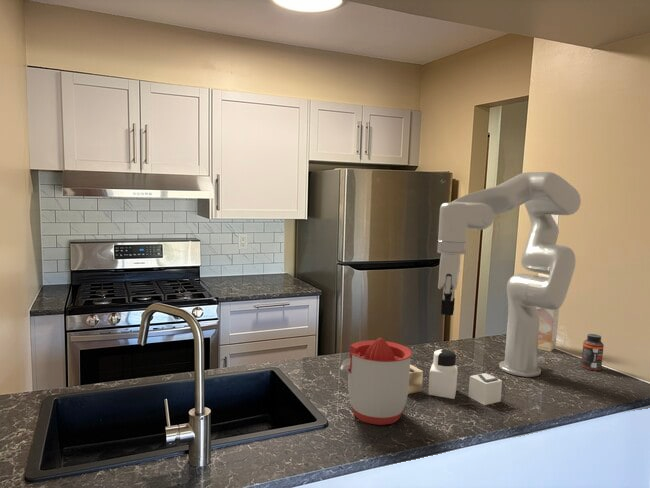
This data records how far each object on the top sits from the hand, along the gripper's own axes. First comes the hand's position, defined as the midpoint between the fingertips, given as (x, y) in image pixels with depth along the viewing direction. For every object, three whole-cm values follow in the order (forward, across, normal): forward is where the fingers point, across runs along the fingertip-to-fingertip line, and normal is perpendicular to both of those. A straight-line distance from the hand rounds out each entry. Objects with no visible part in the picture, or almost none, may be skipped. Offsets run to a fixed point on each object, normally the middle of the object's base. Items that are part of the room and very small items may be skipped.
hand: (447, 312), depth 132 cm
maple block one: (+23, +1, -10) cm, 25 cm away
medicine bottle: (+23, 0, 0) cm, 23 cm away
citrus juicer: (+23, +21, -16) cm, 35 cm away
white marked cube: (+23, 0, +11) cm, 26 cm away
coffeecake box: (+24, -60, +30) cm, 71 cm away
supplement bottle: (+23, -40, +46) cm, 65 cm away
